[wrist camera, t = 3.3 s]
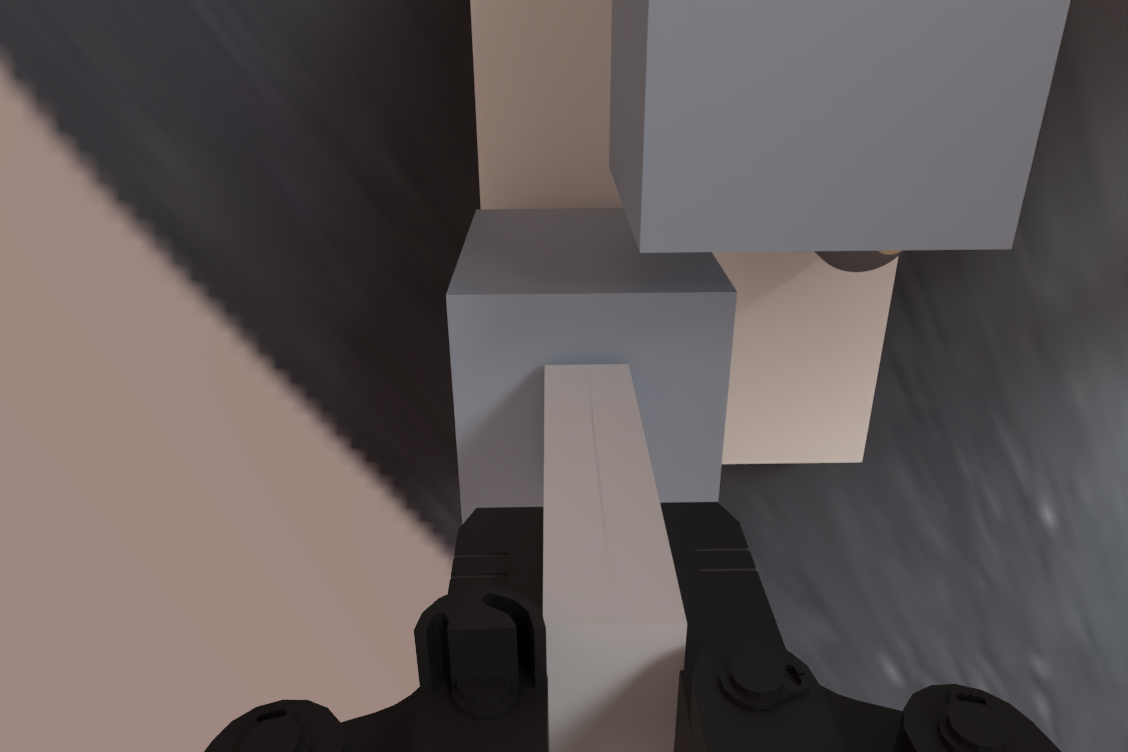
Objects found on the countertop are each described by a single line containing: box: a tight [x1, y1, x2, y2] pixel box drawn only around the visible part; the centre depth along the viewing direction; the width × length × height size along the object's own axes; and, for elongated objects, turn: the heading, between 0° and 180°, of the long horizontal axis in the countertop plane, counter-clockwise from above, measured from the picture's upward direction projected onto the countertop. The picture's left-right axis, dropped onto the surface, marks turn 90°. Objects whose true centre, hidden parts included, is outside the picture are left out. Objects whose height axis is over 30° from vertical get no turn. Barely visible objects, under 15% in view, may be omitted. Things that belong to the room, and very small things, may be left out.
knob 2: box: [609, 0, 1071, 253], centre depth 13 cm, size 5×5×6 cm
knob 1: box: [446, 208, 737, 525], centre depth 18 cm, size 5×5×6 cm
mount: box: [470, 0, 899, 464], centre depth 17 cm, size 11×24×7 cm, turn 0°
